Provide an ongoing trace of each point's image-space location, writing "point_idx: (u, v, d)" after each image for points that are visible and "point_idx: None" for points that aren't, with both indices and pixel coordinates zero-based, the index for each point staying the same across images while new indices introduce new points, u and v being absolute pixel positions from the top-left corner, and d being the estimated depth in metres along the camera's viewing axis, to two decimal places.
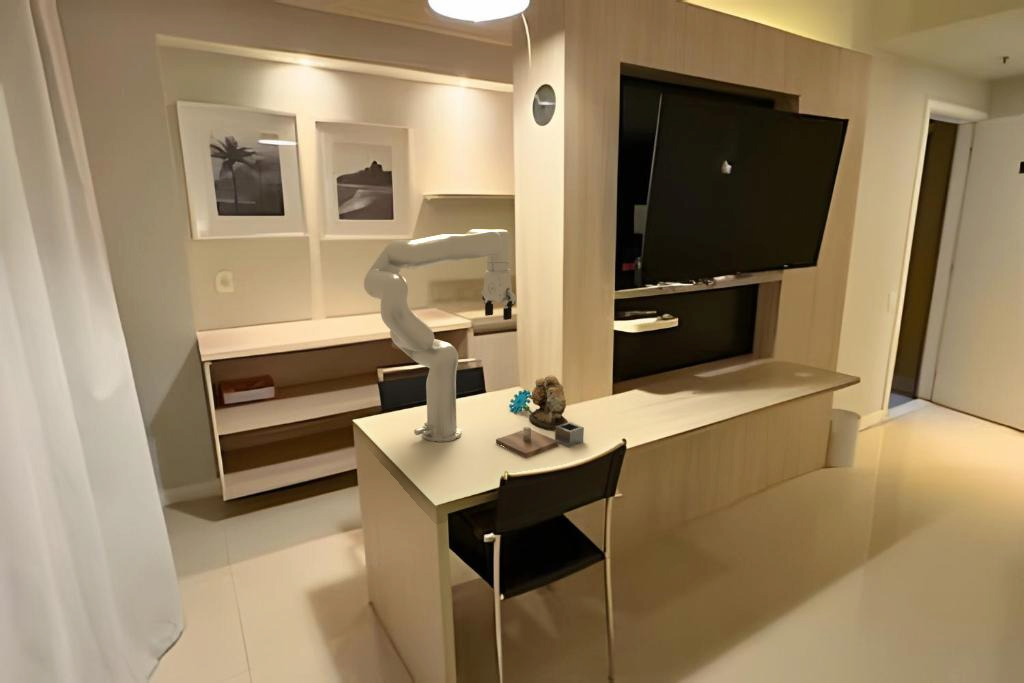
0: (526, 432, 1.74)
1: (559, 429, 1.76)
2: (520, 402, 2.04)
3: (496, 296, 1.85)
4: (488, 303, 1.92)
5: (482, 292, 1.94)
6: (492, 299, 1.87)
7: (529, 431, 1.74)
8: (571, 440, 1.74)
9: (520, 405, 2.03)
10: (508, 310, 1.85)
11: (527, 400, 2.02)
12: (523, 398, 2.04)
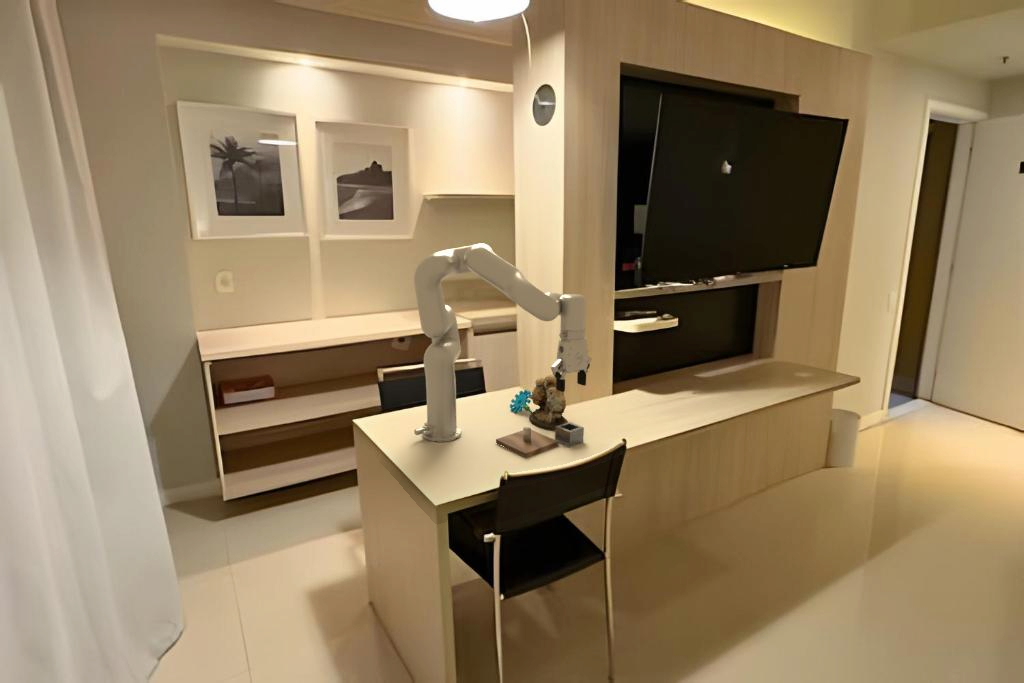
0: (526, 432, 1.74)
1: (559, 429, 1.76)
2: (520, 402, 2.04)
3: (583, 364, 1.72)
4: None
5: (555, 368, 1.67)
6: (579, 369, 1.71)
7: (529, 431, 1.74)
8: (571, 440, 1.74)
9: (520, 405, 2.03)
10: None
11: (527, 400, 2.02)
12: (523, 398, 2.04)
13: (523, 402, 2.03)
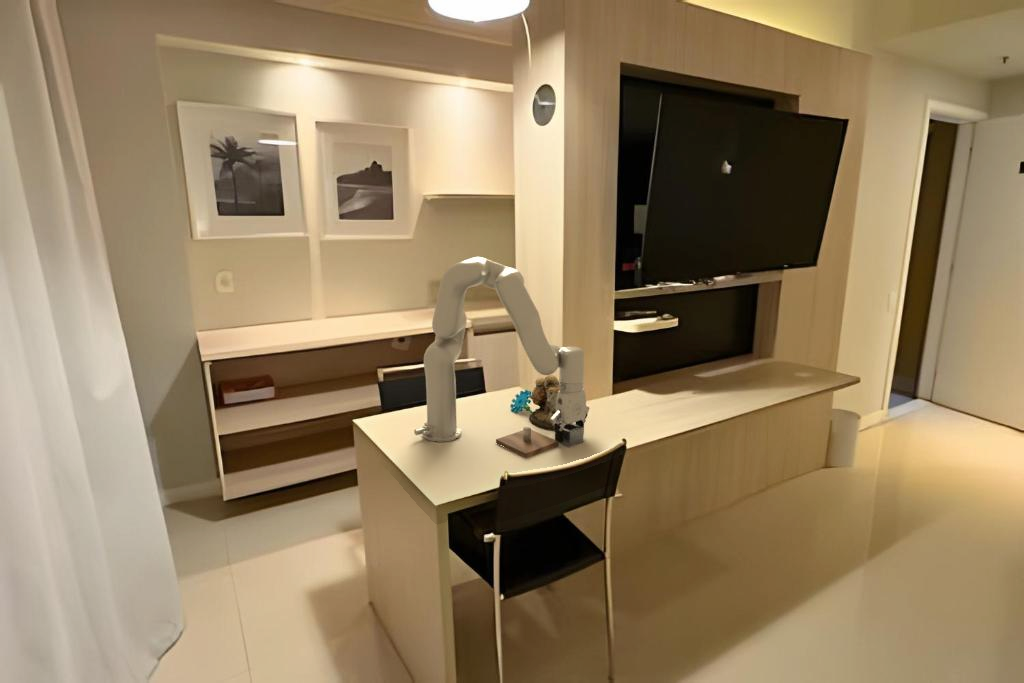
0: (526, 432, 1.74)
1: None
2: (521, 402, 2.04)
3: (581, 414, 1.76)
4: None
5: (554, 420, 1.71)
6: (577, 420, 1.75)
7: (529, 431, 1.74)
8: (571, 440, 1.74)
9: (521, 405, 2.03)
10: None
11: (528, 400, 2.02)
12: (524, 398, 2.04)
13: (523, 402, 2.03)
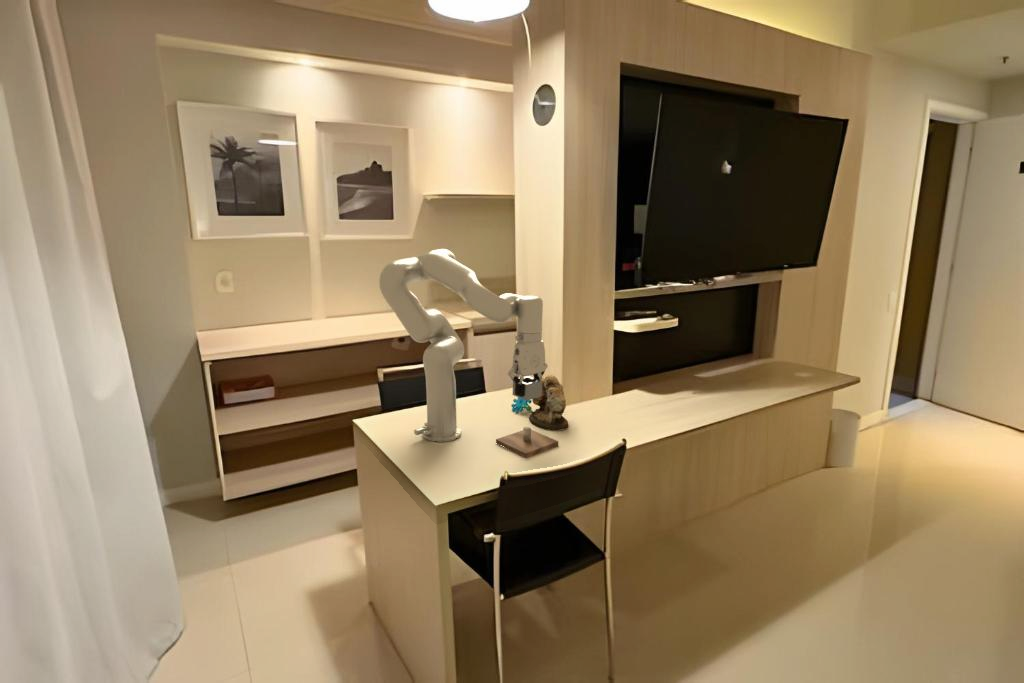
0: (526, 432, 1.74)
1: None
2: (522, 402, 2.04)
3: (540, 367, 1.70)
4: None
5: (512, 374, 1.66)
6: (535, 372, 1.69)
7: (529, 431, 1.74)
8: (528, 393, 1.68)
9: (521, 405, 2.03)
10: None
11: (528, 400, 2.02)
12: None
13: (524, 402, 2.03)
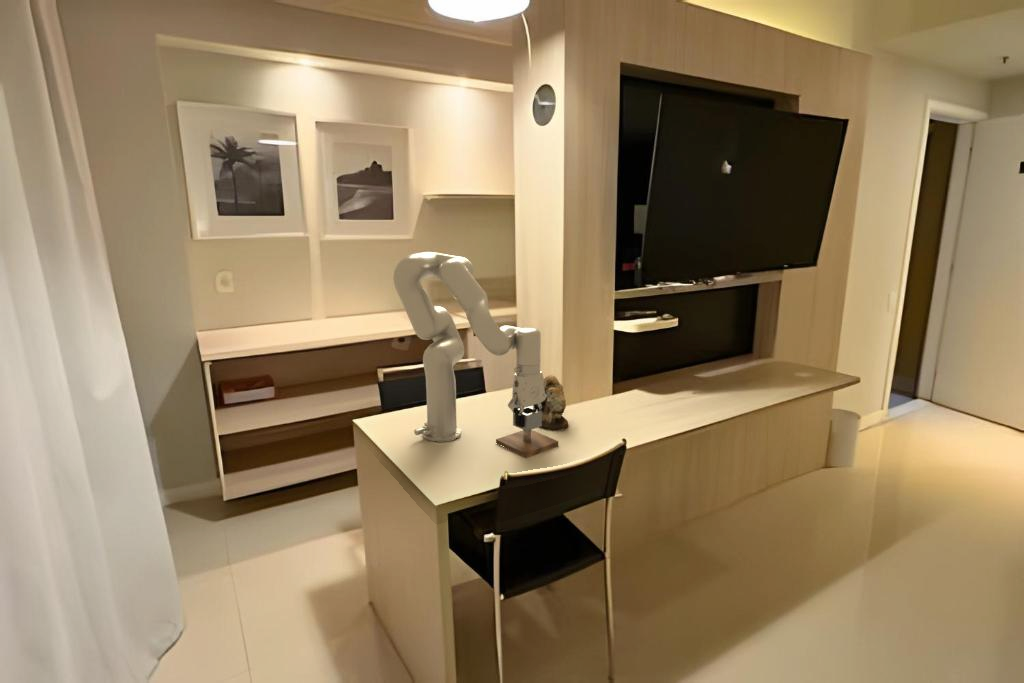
0: (526, 432, 1.74)
1: None
2: None
3: (539, 398, 1.72)
4: None
5: (512, 406, 1.68)
6: (534, 403, 1.71)
7: (529, 431, 1.74)
8: (528, 424, 1.70)
9: None
10: None
11: None
12: None
13: None
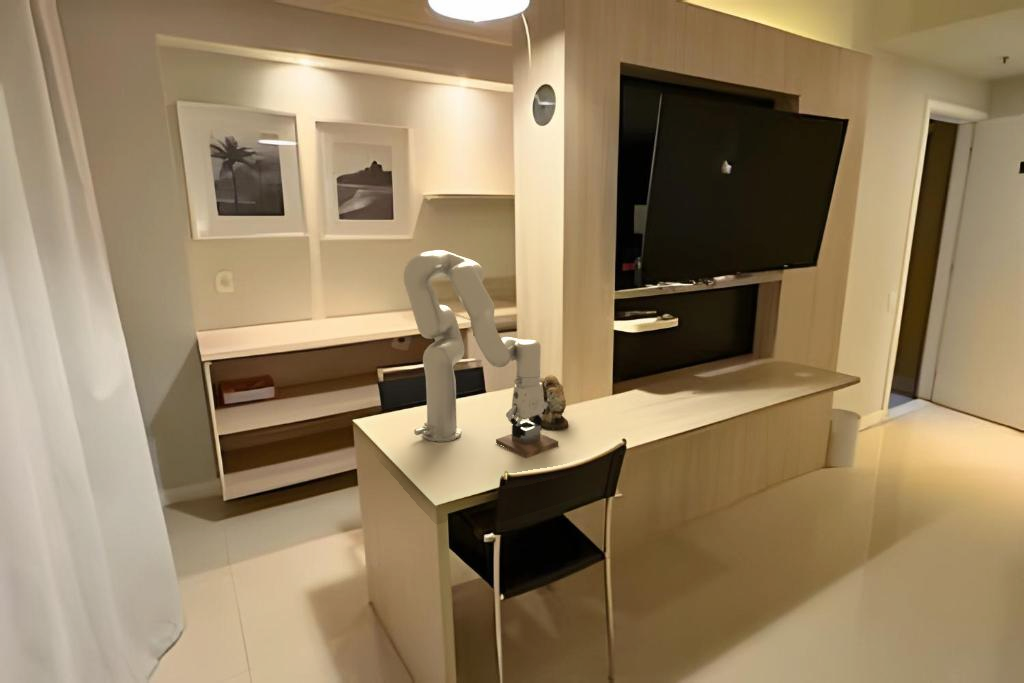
0: None
1: None
2: None
3: (539, 409, 1.73)
4: None
5: (510, 416, 1.68)
6: (534, 414, 1.72)
7: None
8: (527, 438, 1.71)
9: None
10: None
11: None
12: None
13: None
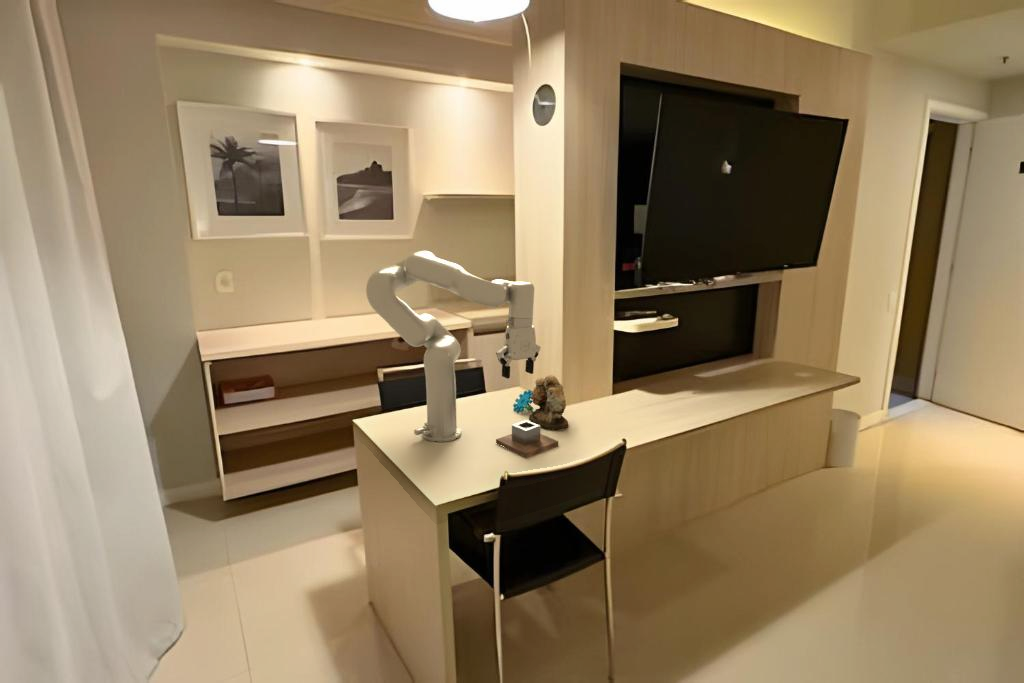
0: None
1: (515, 427, 1.74)
2: (523, 402, 2.04)
3: (530, 352, 1.73)
4: None
5: (500, 354, 1.68)
6: (525, 357, 1.72)
7: None
8: (527, 438, 1.71)
9: (522, 405, 2.03)
10: None
11: (529, 400, 2.02)
12: (526, 398, 2.04)
13: (525, 402, 2.03)
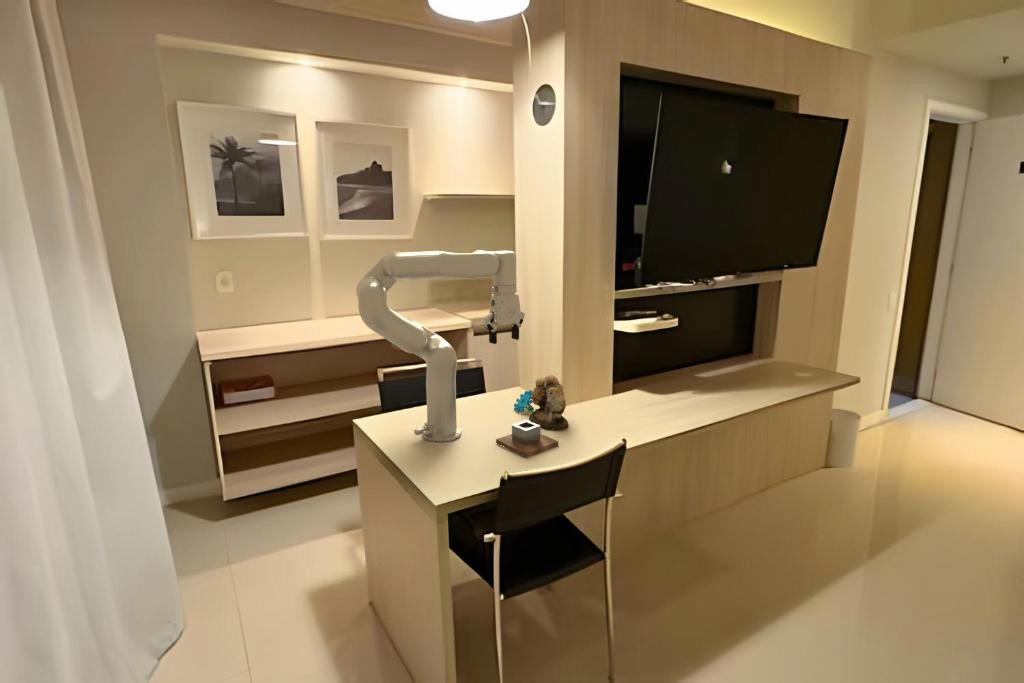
0: None
1: (515, 427, 1.74)
2: (523, 402, 2.04)
3: (515, 318, 1.81)
4: None
5: (486, 321, 1.76)
6: (510, 323, 1.80)
7: None
8: (527, 438, 1.71)
9: (523, 405, 2.03)
10: None
11: (529, 400, 2.02)
12: (527, 398, 2.04)
13: (525, 402, 2.03)
